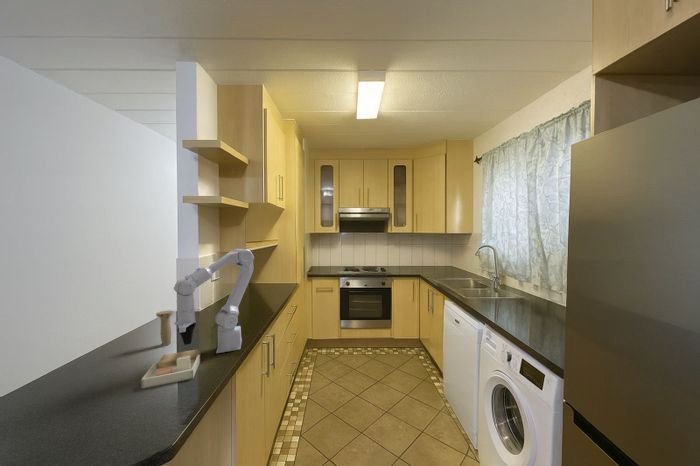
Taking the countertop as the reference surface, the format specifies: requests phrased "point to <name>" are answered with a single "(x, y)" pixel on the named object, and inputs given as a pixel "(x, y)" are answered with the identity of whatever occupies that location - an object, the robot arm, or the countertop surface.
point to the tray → (168, 375)
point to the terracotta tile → (164, 371)
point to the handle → (165, 326)
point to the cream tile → (183, 363)
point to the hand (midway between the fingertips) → (187, 343)
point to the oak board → (172, 358)
